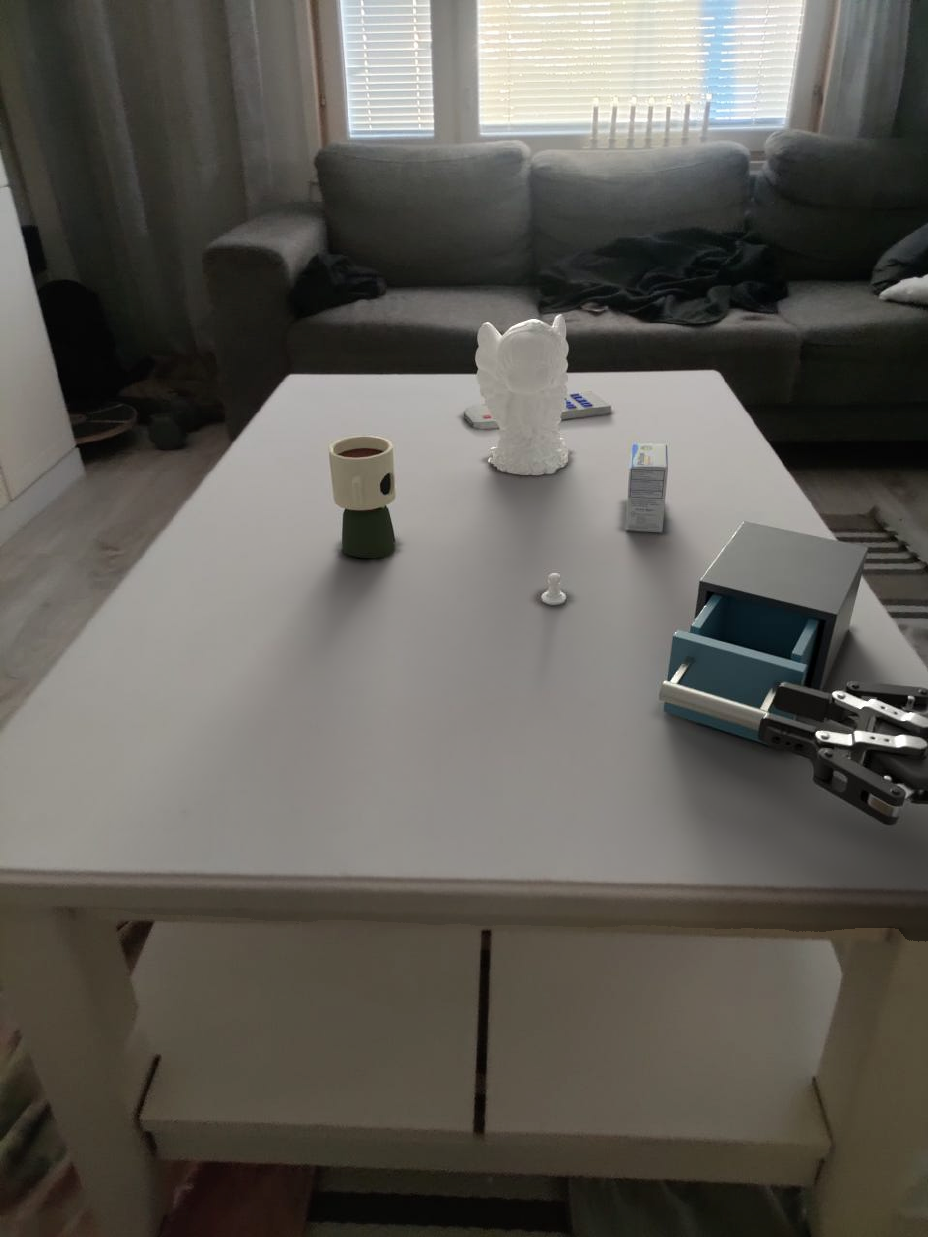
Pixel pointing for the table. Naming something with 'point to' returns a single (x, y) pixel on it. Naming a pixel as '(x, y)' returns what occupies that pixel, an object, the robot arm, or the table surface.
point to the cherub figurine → (525, 393)
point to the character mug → (364, 494)
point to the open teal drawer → (738, 663)
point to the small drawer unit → (791, 581)
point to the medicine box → (647, 487)
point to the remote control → (575, 408)
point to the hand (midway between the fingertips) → (769, 710)
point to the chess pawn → (554, 591)
